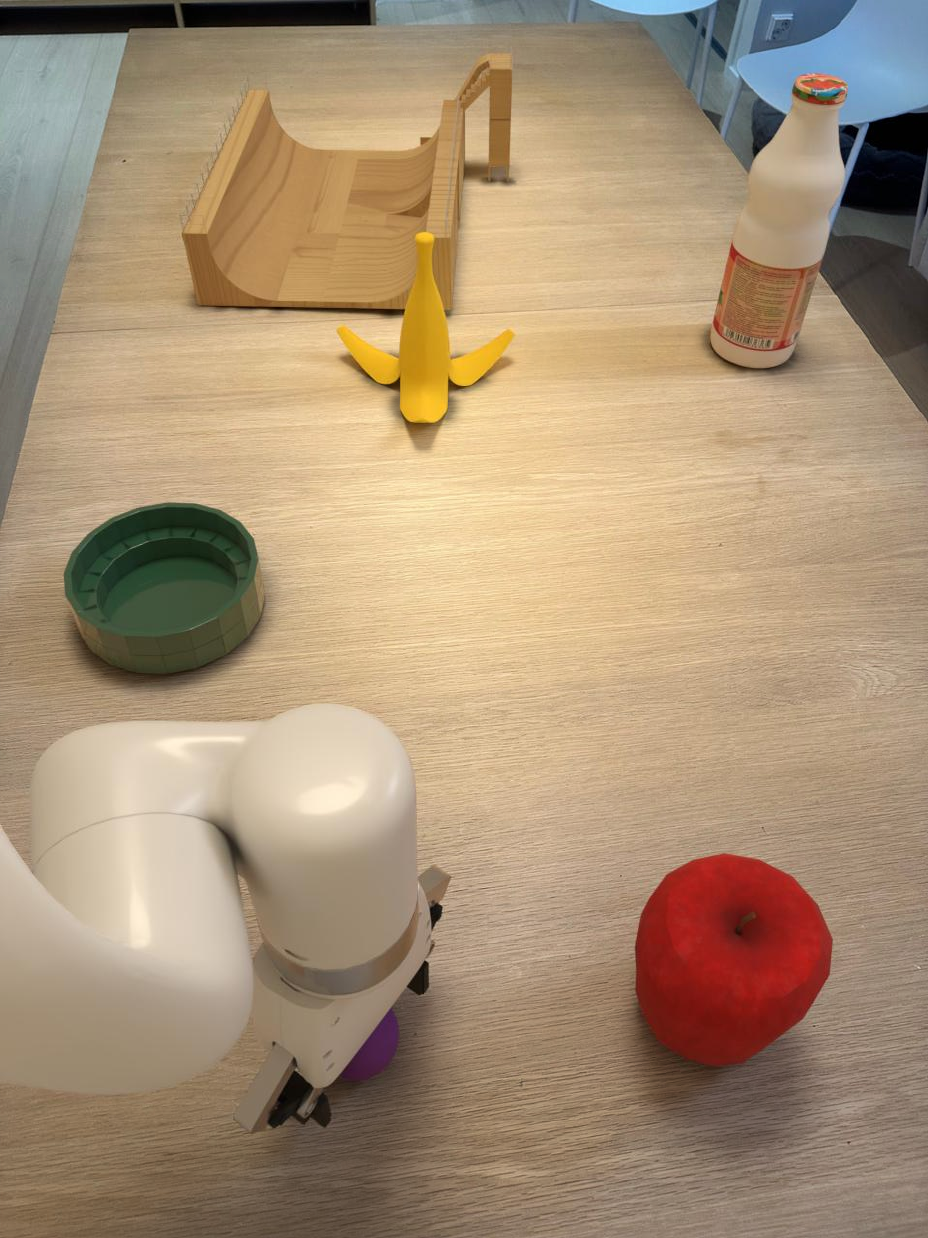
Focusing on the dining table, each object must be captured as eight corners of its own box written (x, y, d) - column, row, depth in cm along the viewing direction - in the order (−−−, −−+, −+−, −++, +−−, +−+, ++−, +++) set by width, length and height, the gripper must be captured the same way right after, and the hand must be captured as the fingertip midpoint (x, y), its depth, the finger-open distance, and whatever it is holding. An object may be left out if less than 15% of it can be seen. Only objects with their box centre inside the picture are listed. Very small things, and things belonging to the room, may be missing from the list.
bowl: (123, 707, 79) (108, 666, 75) (52, 588, 87) (36, 546, 83) (297, 625, 85) (291, 584, 81) (215, 522, 93) (207, 479, 89)
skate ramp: (259, 159, 145) (240, 35, 133) (509, 163, 144) (513, 38, 132) (198, 312, 118) (168, 173, 106) (505, 317, 117) (510, 178, 105)
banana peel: (339, 350, 112) (328, 201, 99) (512, 354, 112) (523, 207, 100) (325, 445, 101) (311, 292, 88) (517, 449, 101) (530, 297, 89)
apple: (751, 921, 69) (807, 815, 58) (808, 1079, 62) (883, 990, 52) (598, 942, 67) (629, 837, 57) (640, 1106, 60) (683, 1020, 50)
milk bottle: (732, 376, 111) (803, 107, 90) (694, 330, 116) (751, 67, 96) (809, 363, 113) (895, 97, 92) (767, 318, 119) (839, 58, 98)
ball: (344, 1110, 60) (339, 1082, 56) (302, 1039, 63) (295, 1007, 59) (415, 1060, 62) (415, 1030, 58) (372, 993, 65) (368, 960, 61)
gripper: (388, 747, 55) (397, 897, 67) (146, 1013, 45) (210, 1129, 58) (506, 819, 52) (491, 961, 65) (275, 1119, 42) (311, 1216, 55)
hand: (358, 1040), depth 61 cm, fingers open, 8 cm apart
